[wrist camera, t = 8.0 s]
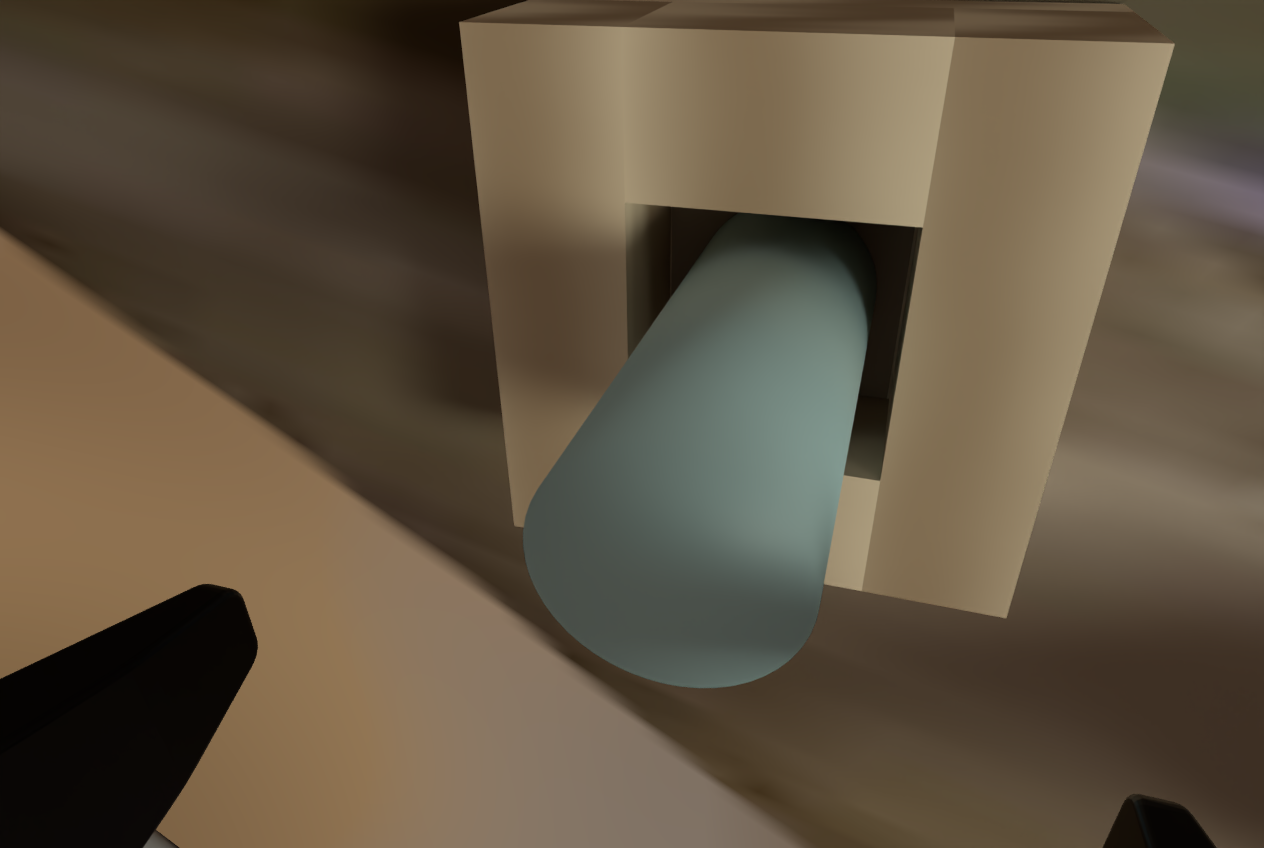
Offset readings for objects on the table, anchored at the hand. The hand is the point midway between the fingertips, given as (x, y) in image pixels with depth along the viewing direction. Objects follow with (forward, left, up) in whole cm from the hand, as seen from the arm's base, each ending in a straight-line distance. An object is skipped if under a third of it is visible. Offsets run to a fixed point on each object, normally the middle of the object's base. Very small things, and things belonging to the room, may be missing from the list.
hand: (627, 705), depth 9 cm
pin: (0, 0, -11) cm, 11 cm away
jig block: (0, 0, -12) cm, 12 cm away
